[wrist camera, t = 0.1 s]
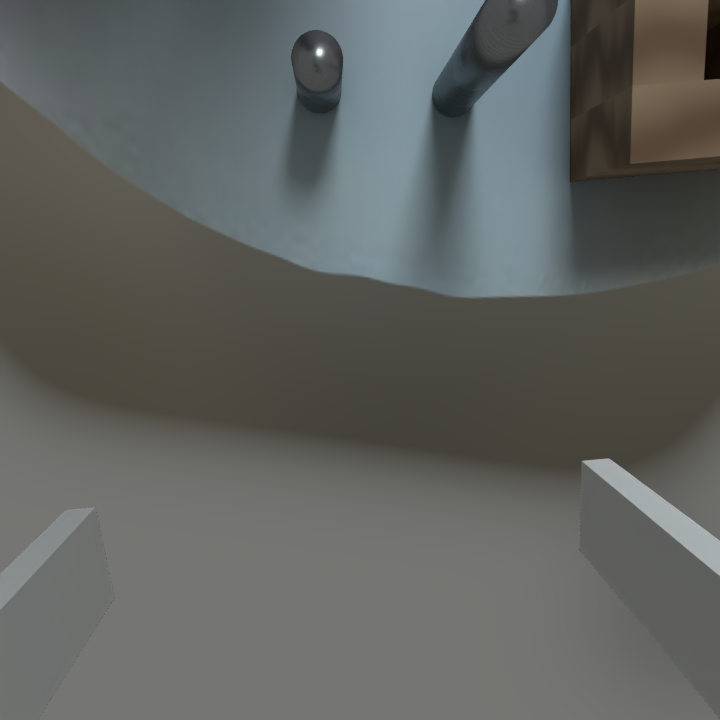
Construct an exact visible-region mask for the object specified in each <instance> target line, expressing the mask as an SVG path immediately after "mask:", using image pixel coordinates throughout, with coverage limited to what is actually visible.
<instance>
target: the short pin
mask: <svg viewBox="0 0 720 720" xmlns="http://www.w3.org/2000/svg"><path fill="white" fill-rule="evenodd" d="M291 61H292V67H293V71H294V76H295V81H296V86H297V90H298V95H299V98H300V101H301V102H302V104H303V105H304V106H305V107H306V108H307V109H308V110H310V111H312V112H314V113H326V112H329V111H331V110H332V109H333V108H334V107H335V106H336V105H337V104H338V102H339V99H340V96H341V85H342V68H343V55H342V51H341V48H340V46H339V44H338V42H337V41H336V40H335V39H334V37H332V36H331V35H330V34H328V33H326V32H324V31H319V30H313V31H309V32H306V33H304V34H303V35H301V36H300V37H299V38H298V39H297V41H296V42H295V44H294V46H293V49H292V54H291Z"/></svg>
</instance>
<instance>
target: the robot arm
mask: <svg viewBox="0 0 720 720" xmlns="http://www.w3.org/2000/svg"><path fill="white" fill-rule="evenodd" d="M581 477H582V478H581V513H580V514H581V515H580V552H581V553H582V554H583V555H584V556H585V558H586V559H587V560H588V561H589V562H590V564H591V565H592V566H593V567H594V568H595V570H596V571H597V572H598V573H599V574H600V576H601V577H602V578H603V579H604V580H605V582H606V583H607V584H608V585H609V586H610V588H611V589H612V590H613V591H614V592H615V594H616V595H617V596H618V597H619V598H620V600H621V601H622V602H623V603H624V604H625V606H626V607H627V608H628V609H629V610H630V612H631V613H632V614H633V615H634V616H635V618H636V619H637V620H638V621H639V622H640V624H641V625H642V626H643V627H644V628H645V630H646V631H647V632H648V633H649V634H650V636H651V637H652V638H653V639H654V641H655V642H656V643H657V644H658V645H659V647H660V648H661V649H662V650H663V651H664V653H665V654H666V655H667V656H668V657H669V659H670V660H671V661H672V662H673V663H674V665H675V666H676V667H677V668H678V669H679V671H680V672H681V673H682V674H683V675H684V677H685V678H686V679H687V680H688V681H689V683H690V684H691V685H692V686H693V687H694V689H695V690H696V691H697V692H698V693H699V695H700V696H701V697H702V698H703V699H704V701H705V702H706V703H707V704H708V705H709V707H710V708H711V709H712V710H713V711H714V713H715V714H716V715H717V716H718V717H719V719H720V541H719V540H718V539H717V538H715V537H714V536H713V535H711V534H710V533H709V532H707V531H706V530H705V529H703V528H702V527H701V526H699V525H698V524H696V523H695V522H694V521H693V520H691V519H690V518H688V517H687V516H686V515H684V514H683V513H682V512H680V511H679V510H678V509H676V508H675V507H674V506H672V505H671V504H670V503H668V502H667V501H666V500H664V499H663V498H662V497H660V496H659V495H658V494H656V493H655V492H653V491H652V490H651V489H649V488H648V487H647V486H645V485H644V484H642V483H641V482H640V481H639V480H637V479H636V478H635V477H633V476H632V475H630V474H629V473H628V472H626V471H625V470H624V469H622V468H621V467H620V466H618V465H617V464H616V463H614V462H613V461H611V460H610V459H600V460H589V461H582V475H581ZM113 599H114V593H113V588H112V583H111V578H110V573H109V569H108V565H107V559H106V554H105V550H104V545H103V540H102V536H101V531H100V527H99V521H98V516H97V512H96V508H95V507H91V508H80V509H70V510H65V511H64V512H63V513H62V514H61V515H60V516H59V517H58V518H57V519H56V520H55V521H54V522H53V523H52V524H51V525H50V526H49V527H48V528H47V529H46V530H45V531H44V532H43V533H42V534H41V535H40V536H39V537H38V538H37V539H36V540H34V541H33V542H32V543H31V544H30V545H29V546H28V547H27V548H26V549H25V550H24V551H23V552H22V553H21V554H20V555H19V556H18V557H17V558H16V559H15V560H14V561H13V562H12V563H11V564H10V565H9V566H8V567H7V568H6V569H5V570H4V571H2V572H1V573H0V720H38V719H39V717H40V716H41V714H42V713H43V711H44V709H45V708H46V706H47V705H48V703H49V701H50V700H51V698H52V697H53V695H54V693H55V692H56V690H57V689H58V687H59V685H60V684H61V682H62V681H63V679H64V678H65V676H66V674H67V673H68V671H69V670H70V668H71V666H72V665H73V663H74V662H75V660H76V658H77V657H78V655H79V654H80V652H81V651H82V649H83V647H84V646H85V644H86V643H87V641H88V639H89V638H90V636H91V635H92V633H93V631H94V630H95V628H96V627H97V625H98V623H99V622H100V620H101V619H102V617H103V615H104V614H105V612H106V611H107V609H108V607H109V606H110V604H111V603H112V601H113Z"/></svg>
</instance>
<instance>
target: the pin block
mask: <svg viewBox="0 0 720 720" xmlns="http://www.w3.org/2000/svg"><path fill="white" fill-rule="evenodd" d="M710 169H720V0H571V107H570V182H572V181H583V180H595V179H606V178H618V177H629V176H641V175H652V174H664V173H675V172H687V171H698V170H710Z"/></svg>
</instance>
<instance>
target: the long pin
mask: <svg viewBox="0 0 720 720" xmlns="http://www.w3.org/2000/svg"><path fill="white" fill-rule="evenodd" d="M557 5H558V0H485V2H484V4H483V5H482V7H481V9H480V10H479V12H478V13H477V15H476V17H475V18H474V20H473V22H472V23H471V25H470V27H469V28H468V30H467V31H466V33H465V35H464V36H463V38H462V40H461V41H460V43H459V45H458V46H457V48H456V49H455V51H454V53H453V54H452V56H451V58H450V59H449V61H448V63H447V64H446V66H445V67H444V69H443V71H442V72H441V74H440V76H439V77H438V79H437V81H436V82H435V84H434V87H433V92H432V96H433V102H434V105H435V106H436V108H437V109H438V111H439V112H440V113H442V114H443V115H445V116H448V117H458V116H461V115H463V114H464V113H466V112H467V111H468V110H469V109H470V108H471V107H472V106H473V104H474V103H475V102H476V101H477V100H478V99H479V98H480V97H481V96H482V95H483V94H484V93H485V92H486V91H487V90H488V89H489V88H490V87H491V86H492V85H493V84H494V83H495V82H496V81H497V79H498V78H499V77H500V76H501V75H502V74H503V73H504V72H505V71H506V70H507V69H508V68H509V67H510V66H511V65H512V64H513V63H514V62H515V61H516V60H517V59H518V58H519V57H520V56H521V54H522V53H523V52H524V51H525V50H526V49H527V48H528V47H529V46H530V45H531V44H532V43H533V42H534V41H535V40H536V39H537V38H538V37H539V36H540V35H541V34H542V33H543V32H544V31H545V29H546V28H547V27H548V26H549V25H550V23H551V22H552V20H553V18H554V16H555V13H556V10H557Z"/></svg>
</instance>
